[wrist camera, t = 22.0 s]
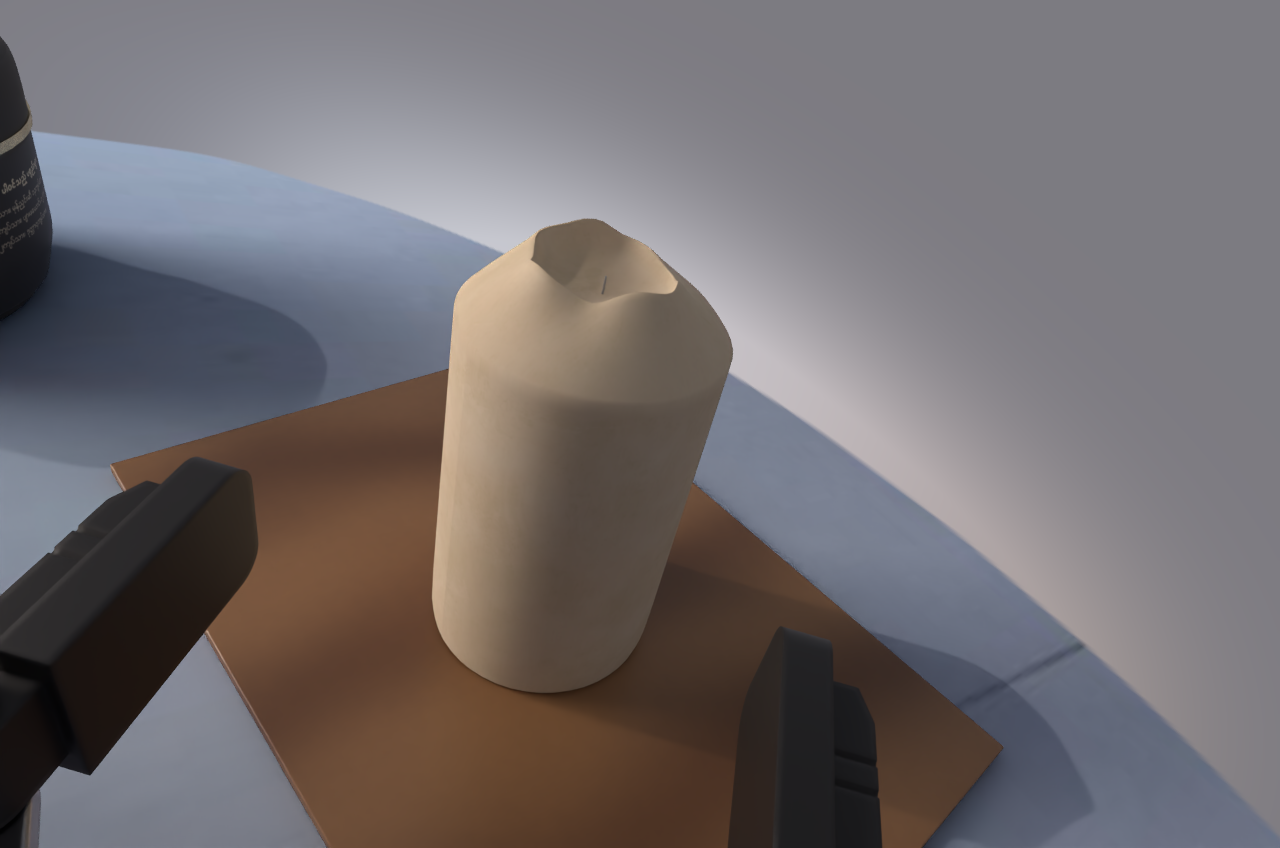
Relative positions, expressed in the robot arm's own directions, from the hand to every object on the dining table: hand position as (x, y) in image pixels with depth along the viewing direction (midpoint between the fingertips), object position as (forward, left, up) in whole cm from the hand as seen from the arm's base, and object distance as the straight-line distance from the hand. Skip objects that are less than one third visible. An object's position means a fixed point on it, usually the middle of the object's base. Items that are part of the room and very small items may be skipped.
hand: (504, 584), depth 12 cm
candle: (+4, -5, -7) cm, 9 cm away
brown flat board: (+4, -5, -7) cm, 10 cm away
